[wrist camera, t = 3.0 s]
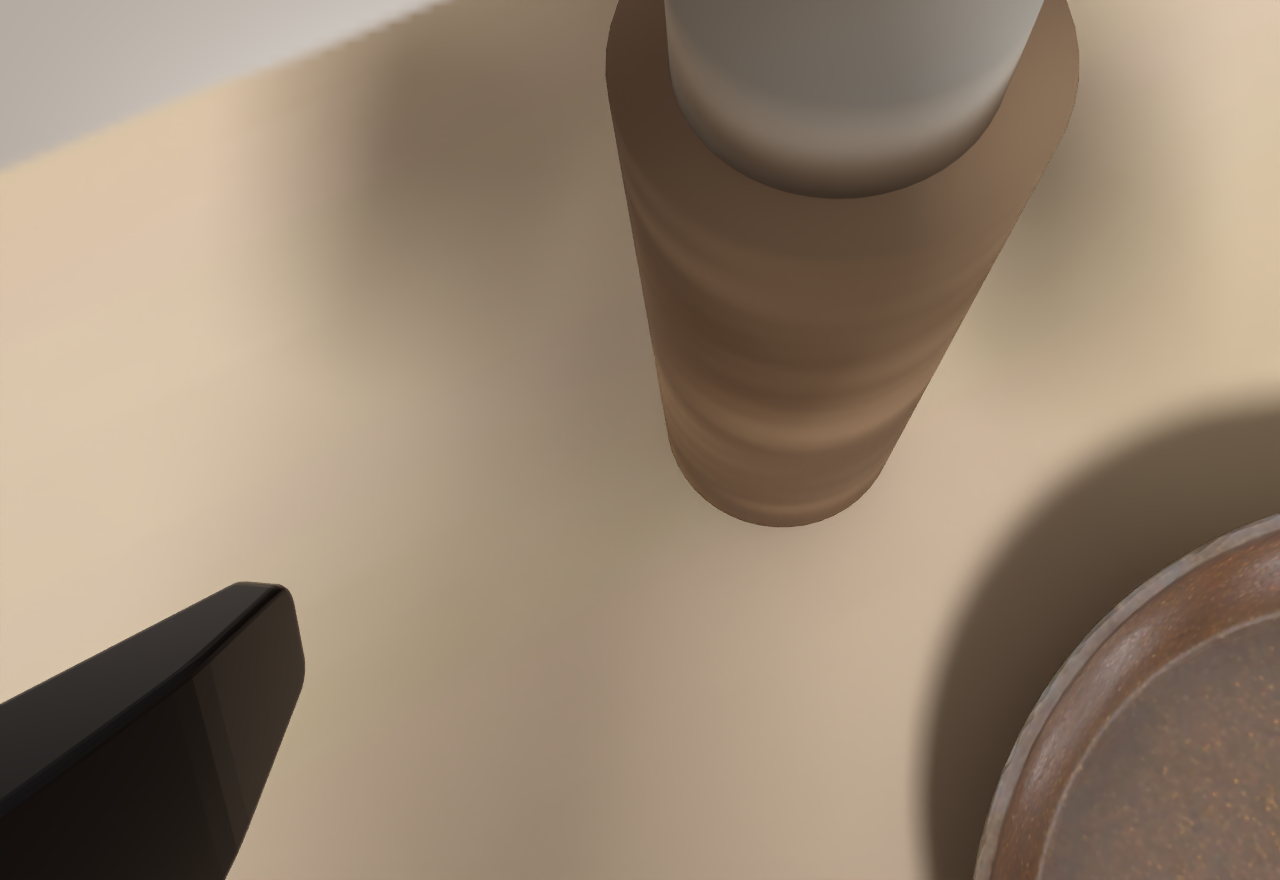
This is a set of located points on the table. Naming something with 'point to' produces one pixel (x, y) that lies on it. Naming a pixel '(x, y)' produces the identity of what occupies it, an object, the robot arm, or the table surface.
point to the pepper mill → (821, 217)
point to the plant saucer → (1157, 734)
